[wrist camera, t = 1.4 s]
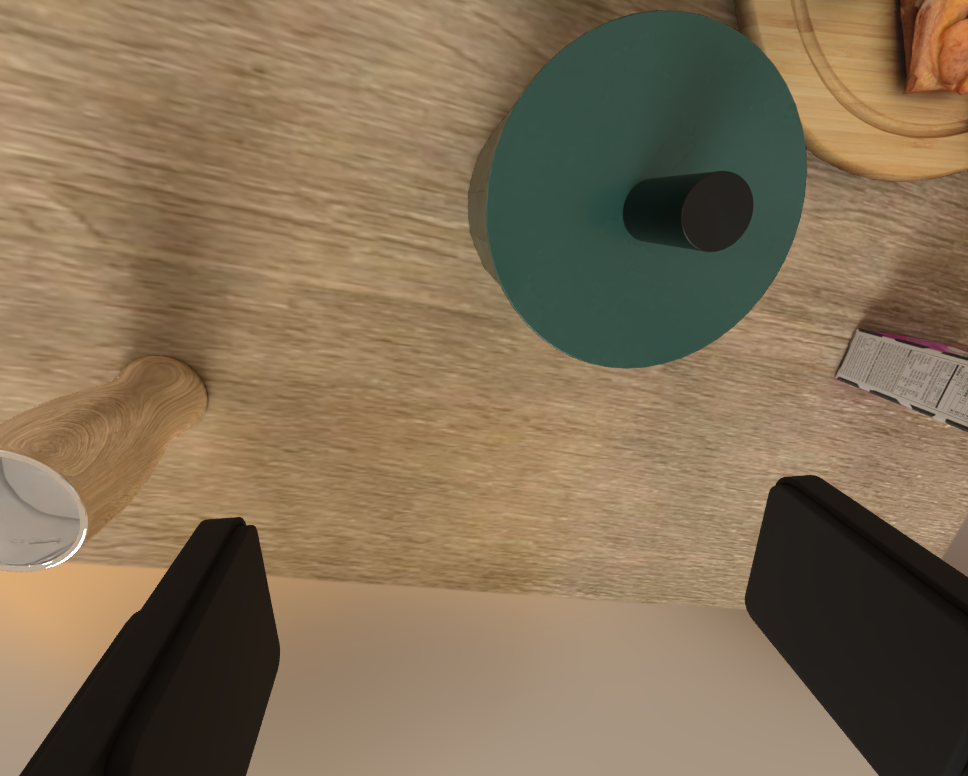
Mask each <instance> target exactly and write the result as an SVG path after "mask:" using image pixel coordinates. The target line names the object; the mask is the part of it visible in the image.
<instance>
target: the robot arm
mask: <svg viewBox="0 0 968 776" xmlns="http://www.w3.org/2000/svg"><path fill="white" fill-rule="evenodd" d="M745 605H746V608H747V611H748V613H749V615H750V617H751V618H752V619H753V621H754V622H755V623H756V624H757V625H758V627H759V628H760V629H761V630H762V632H763V633H764V634H765V636H766V637H767V638H768V639H769V641H770V642H771V643H772V644H773V645H774V647H775V648H776V649H777V650H778V651H779V653H780V654H781V655H782V657H783V658H784V659H785V660H786V661H787V663H788V664H789V665H790V666H791V667H792V669H793V670H794V671H795V673H796V674H797V675H798V676H799V678H800V679H801V680H802V681H803V682H804V684H805V685H806V686H807V687H808V689H809V690H810V691H811V692H812V694H813V695H814V696H815V697H816V698H817V700H818V701H819V702H820V703H821V705H822V706H823V707H824V708H825V710H826V711H827V712H828V713H829V715H830V716H831V717H832V718H833V719H834V720H835V722H836V723H837V724H838V726H839V727H840V728H841V729H842V731H843V732H844V733H845V734H846V735H847V737H848V738H849V739H850V740H851V742H852V743H853V744H854V745H855V747H856V748H857V749H858V750H859V751H860V753H861V754H862V755H863V757H864V758H865V759H866V760H867V761H868V763H869V764H870V765H871V766H872V768H873V769H874V770H875V771H876V773H877V774H878V775H879V776H968V577H967V576H965V575H964V574H962V573H961V572H959V571H958V570H956V569H955V568H953V567H952V566H950V565H949V564H947V563H946V562H944V561H943V560H941V559H940V558H939V557H937V556H936V555H934V554H933V553H931V552H930V551H928V550H927V549H925V548H924V547H922V546H921V545H919V544H918V543H916V542H915V541H913V540H912V539H910V538H909V537H907V536H906V535H904V534H903V533H901V532H900V531H899V530H897V529H896V528H894V527H893V526H891V525H890V524H888V523H887V522H885V521H884V520H882V519H881V518H879V517H878V516H876V515H875V514H873V513H872V512H870V511H869V510H867V509H866V508H864V507H863V506H861V505H860V504H859V503H857V502H856V501H854V500H853V499H851V498H850V497H848V496H847V495H845V494H844V493H842V492H841V491H839V490H838V489H836V488H835V487H833V486H832V485H830V484H829V483H827V482H826V481H824V480H823V479H821V478H820V477H817V476H815V475H805V476H792V477H783V478H781V479H779V481H778V482H777V483H776V486H773V487H772V488H771V489H770V492H769V495H768V499H767V504H766V508H765V512H764V517H763V521H762V525H761V530H760V534H759V538H758V542H757V547H756V551H755V555H754V560H753V564H752V568H751V573H750V577H749V581H748V586H747V590H746V594H745ZM279 659H280V645H279V639H278V635H277V629H276V624H275V619H274V614H273V609H272V604H271V599H270V593H269V589H268V583H267V578H266V573H265V568H264V563H263V557H262V552H261V547H260V542H259V537H258V532H257V529H256V527H255V526H254V525H246V523H245V521H244V520H243V518H241V517H235V518H221V519H208V520H204V521H202V522H201V523H200V524H199V525H198V527H197V528H196V530H195V531H194V533H193V534H192V536H191V537H190V539H189V540H188V541H187V543H186V544H185V546H184V547H183V549H182V550H181V552H180V553H179V555H178V556H177V558H176V559H175V560H174V562H173V563H172V565H171V566H170V568H169V569H168V571H167V572H166V574H165V575H164V577H163V578H162V580H161V581H160V582H159V584H158V585H157V587H156V588H155V590H154V591H153V593H152V594H151V596H150V597H149V599H148V600H147V601H146V603H145V604H144V606H143V607H142V609H141V610H140V611H138V612H136V613H135V614H133V615H132V616H131V618H130V619H129V620H128V621H127V622H126V623H125V625H124V626H123V628H122V629H121V631H120V632H119V633H118V635H117V636H116V638H115V639H114V641H113V642H112V643H111V645H110V646H109V648H108V649H107V651H106V652H105V653H104V655H103V656H102V658H101V659H100V661H99V662H98V664H97V665H96V666H95V668H94V669H93V671H92V672H91V674H90V675H89V676H88V678H87V679H86V681H85V682H84V684H83V685H82V687H81V688H80V689H79V691H78V692H77V694H76V695H75V696H74V698H73V699H72V701H71V702H70V704H69V705H68V707H67V708H66V710H65V711H64V712H63V714H62V715H61V717H60V718H59V719H58V721H57V722H56V724H55V725H54V727H53V728H52V729H51V731H50V732H49V734H48V735H47V737H46V738H45V739H44V741H43V742H42V744H41V745H40V747H39V748H38V750H37V751H36V752H35V754H34V755H33V757H32V758H31V759H30V761H29V762H28V764H27V765H26V767H25V768H24V770H23V771H22V772H21V774H20V775H19V776H246V774H247V770H248V767H249V763H250V760H251V757H252V753H253V750H254V747H255V744H256V740H257V737H258V733H259V730H260V727H261V724H262V720H263V717H264V714H265V710H266V707H267V704H268V700H269V697H270V694H271V690H272V687H273V684H274V680H275V677H276V674H277V670H278V666H279Z"/></svg>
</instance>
